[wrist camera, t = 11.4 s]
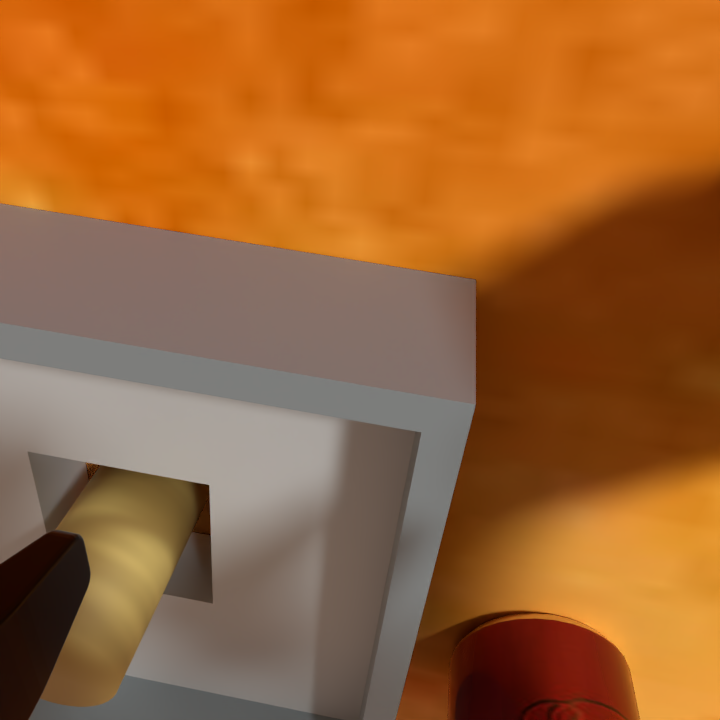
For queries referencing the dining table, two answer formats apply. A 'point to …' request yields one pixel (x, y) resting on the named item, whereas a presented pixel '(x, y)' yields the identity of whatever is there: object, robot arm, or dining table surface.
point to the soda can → (539, 672)
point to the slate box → (242, 450)
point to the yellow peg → (120, 575)
